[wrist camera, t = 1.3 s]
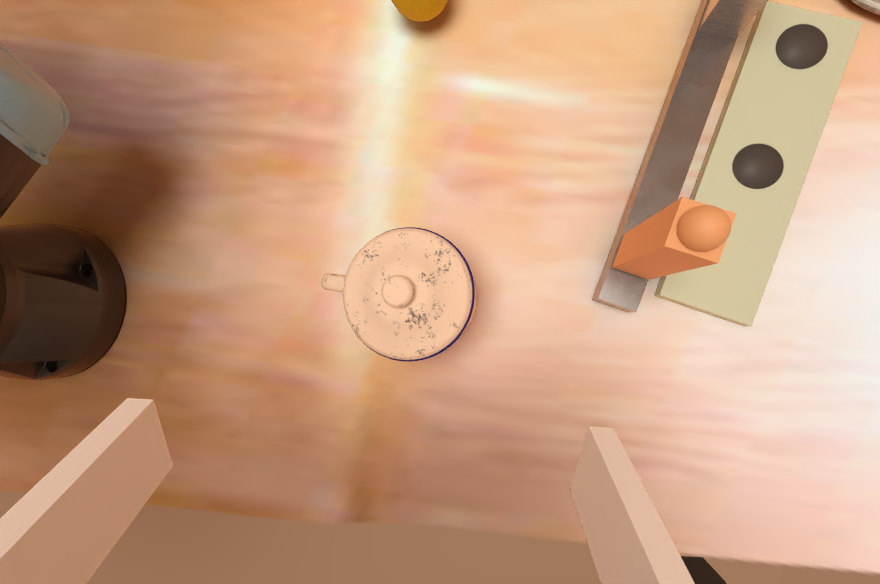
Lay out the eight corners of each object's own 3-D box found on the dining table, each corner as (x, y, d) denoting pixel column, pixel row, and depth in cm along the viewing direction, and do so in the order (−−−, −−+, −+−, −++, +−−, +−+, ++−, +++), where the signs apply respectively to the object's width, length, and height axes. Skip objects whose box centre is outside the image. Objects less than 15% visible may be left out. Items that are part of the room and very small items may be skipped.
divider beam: (592, 299, 34) (654, 289, 20) (703, -3, 34) (836, -209, 21) (628, 311, 33) (715, 309, 20) (740, 6, 33) (901, -200, 20)
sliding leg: (611, 267, 31) (676, 240, 20) (624, 233, 31) (695, 188, 20) (648, 279, 31) (734, 259, 20) (660, 245, 31) (754, 205, 20)
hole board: (654, 295, 33) (660, 294, 32) (759, 10, 33) (768, -1, 32) (743, 325, 32) (752, 326, 31) (851, 31, 32) (863, 21, 31)
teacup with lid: (487, 255, 35) (482, 226, 24) (471, 358, 35) (458, 380, 23) (357, 237, 37) (294, 202, 25) (340, 335, 37) (269, 344, 25)
